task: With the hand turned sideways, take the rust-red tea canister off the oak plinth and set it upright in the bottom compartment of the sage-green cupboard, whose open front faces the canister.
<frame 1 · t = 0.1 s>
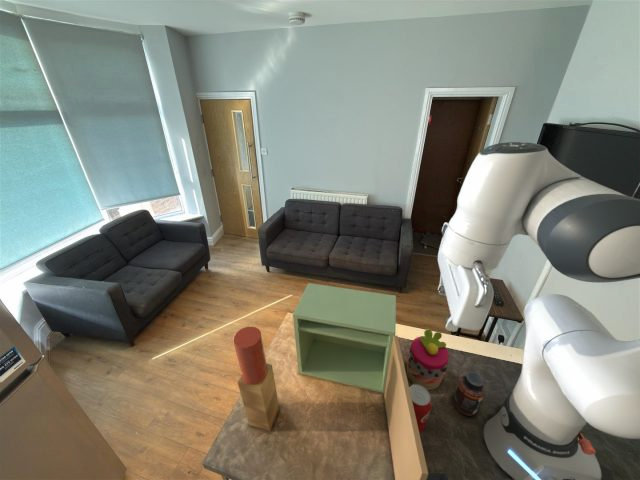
hand: (445, 309, 49), 39 cm above the countertop, tool pointing down, fingers open, 8 cm apart
cupboard: (344, 363, 84), on the countertop
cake: (423, 374, 80), on the countertop
cupboard door: (412, 424, 56), point 12 cm above the countertop, hinge at 100.0°
plinth: (264, 416, 70), on the countertop
beverage can: (411, 422, 68), on the countertop
supplement bottle: (464, 405, 71), on the countertop
tea canister: (255, 372, 62), point 18 cm above the countertop, touching plinth
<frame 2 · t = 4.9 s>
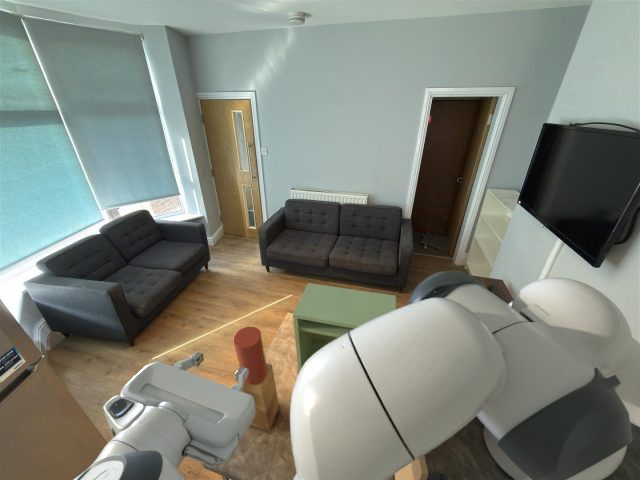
hand: (222, 362, 47), 33 cm above the countertop, tool horizontal, fingers open, 8 cm apart
nothing on the countertop moved.
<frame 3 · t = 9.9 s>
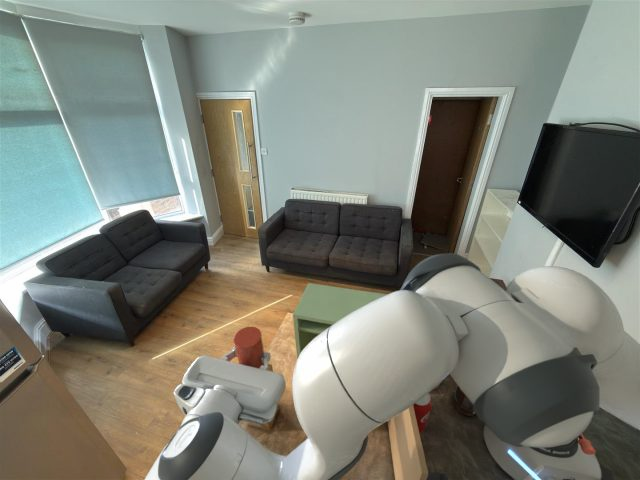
hand: (252, 350, 59), 24 cm above the countertop, tool horizontal, fingers closed on tea canister, 6 cm apart
tea canister: (255, 372, 62), point 18 cm above the countertop, touching gripper, plinth
everything else where it was.
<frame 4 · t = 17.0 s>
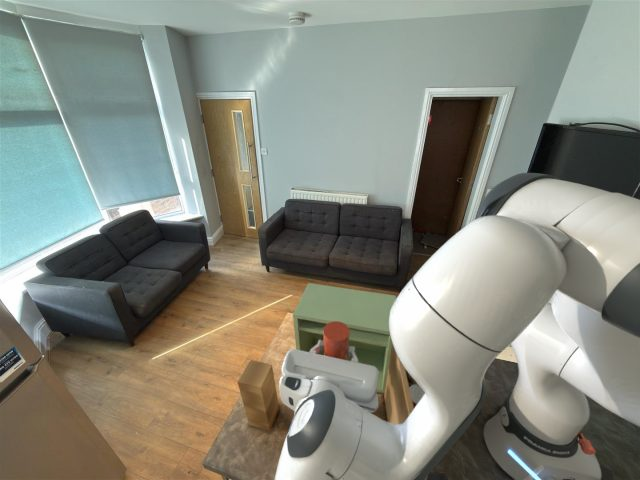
hand: (336, 344, 61), 24 cm above the countertop, tool horizontal, fingers closed on tea canister, 6 cm apart
tea canister: (335, 366, 64), point 17 cm above the countertop, touching gripper
everything else where it was.
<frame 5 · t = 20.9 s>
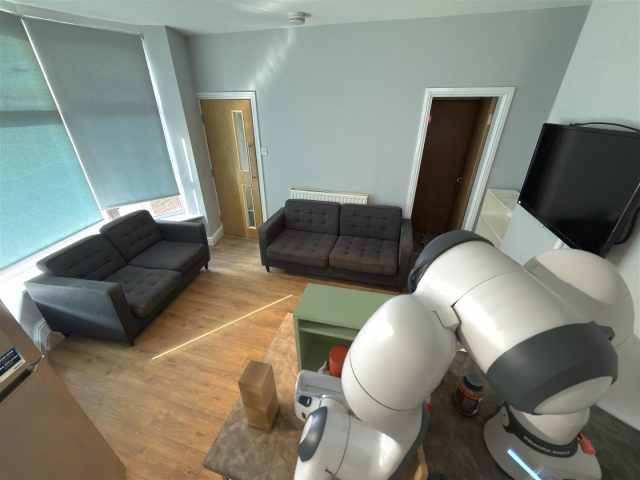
hand: (340, 365, 72), 9 cm above the countertop, tool horizontal, fingers closed on tea canister, 6 cm apart
tea canister: (339, 383, 75), point 3 cm above the countertop, touching gripper
everything else where it was.
when the fingers open (8 cm above the countertop, at t = 24.3 s): tea canister stays where it is, resting on cupboard.
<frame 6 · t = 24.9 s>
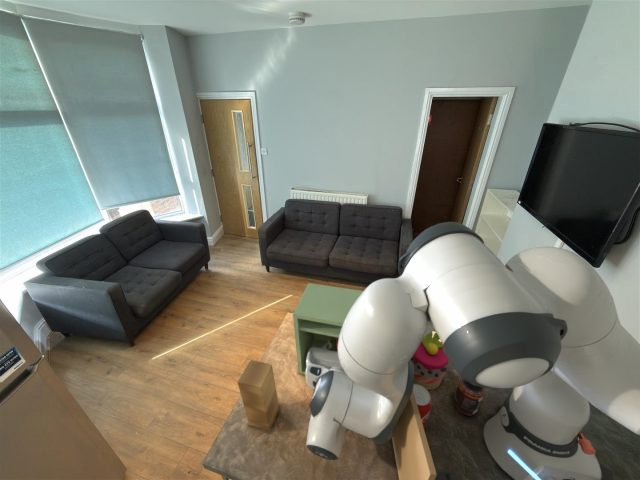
hand: (345, 343, 81), 8 cm above the countertop, tool horizontal, fingers open, 8 cm apart
cupboard door: (414, 423, 56), point 12 cm above the countertop, hinge at 102.7°
tea canister: (344, 360, 83), point 1 cm above the countertop, touching cupboard
everything else where it was.
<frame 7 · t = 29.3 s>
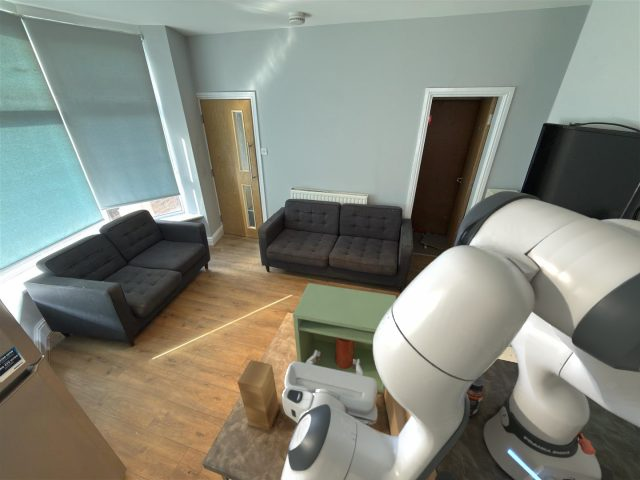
hand: (337, 356, 63), 19 cm above the countertop, tool horizontal, fingers open, 8 cm apart
nothing on the countertop moved.
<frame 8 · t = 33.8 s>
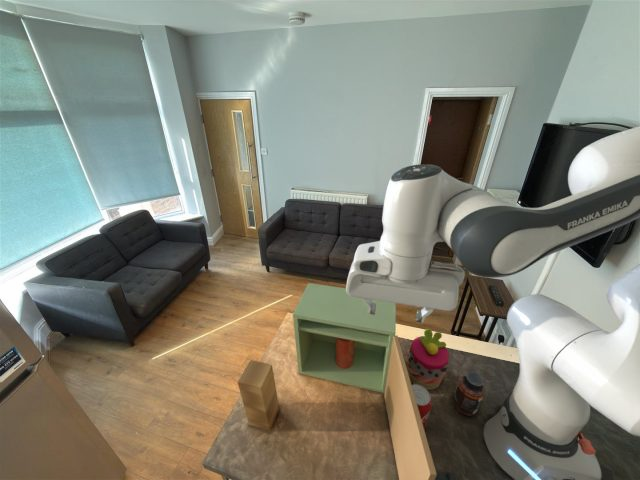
hand: (395, 316, 53), 35 cm above the countertop, tool pointing down, fingers open, 8 cm apart
nothing on the countertop moved.
at the end: tea canister inside the target area in the cupboard (0.1 cm from its centre), point 1.2 cm above the cupboard's base; tea canister tilted 0°; the gripper is holding nothing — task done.
